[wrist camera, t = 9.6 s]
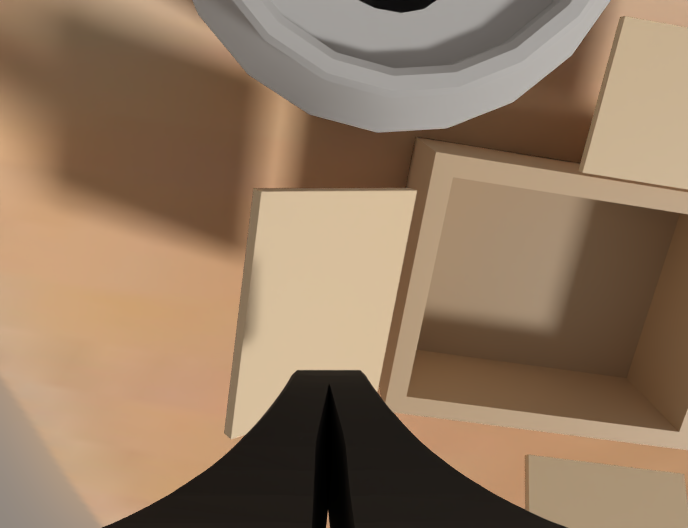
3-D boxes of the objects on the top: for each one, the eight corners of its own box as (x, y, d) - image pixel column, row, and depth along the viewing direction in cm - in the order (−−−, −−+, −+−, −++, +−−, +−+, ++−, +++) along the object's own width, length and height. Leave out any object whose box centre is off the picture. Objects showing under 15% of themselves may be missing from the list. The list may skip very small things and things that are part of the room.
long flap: (261, 191, 13) (253, 188, 13) (231, 439, 15) (224, 433, 15) (416, 190, 16) (408, 187, 17) (377, 392, 18) (370, 387, 18)
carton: (885, 85, 21) (1022, 88, 17) (757, 406, 24) (845, 474, 20) (440, 5, 19) (471, -12, 15) (373, 354, 23) (384, 415, 19)
